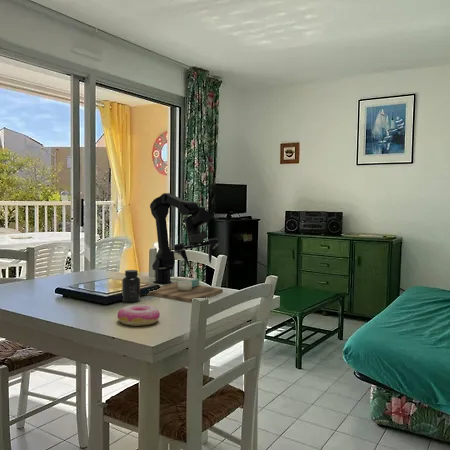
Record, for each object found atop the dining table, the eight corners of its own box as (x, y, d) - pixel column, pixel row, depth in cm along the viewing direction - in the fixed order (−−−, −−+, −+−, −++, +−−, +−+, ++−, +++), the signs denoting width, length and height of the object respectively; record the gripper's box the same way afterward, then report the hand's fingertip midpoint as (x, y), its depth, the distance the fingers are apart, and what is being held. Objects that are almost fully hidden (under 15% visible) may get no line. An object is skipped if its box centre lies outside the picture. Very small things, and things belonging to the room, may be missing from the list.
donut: (167, 323, 150) (168, 308, 150) (135, 331, 141) (135, 315, 140) (142, 314, 159) (142, 300, 159) (110, 321, 149) (110, 306, 149)
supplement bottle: (141, 299, 181) (142, 269, 180) (136, 303, 174) (137, 272, 173) (125, 298, 181) (125, 268, 181) (119, 302, 175) (120, 271, 174)
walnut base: (144, 294, 190) (144, 290, 189) (177, 285, 210) (178, 281, 210) (192, 303, 178) (192, 298, 178) (222, 292, 199) (222, 288, 199)
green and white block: (186, 291, 190) (186, 283, 190) (174, 289, 193) (175, 282, 193) (203, 286, 201) (203, 279, 201) (191, 284, 204) (192, 277, 204)
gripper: (172, 228, 185) (178, 265, 181) (216, 221, 188) (223, 258, 185) (171, 234, 196) (177, 270, 192) (213, 228, 199) (220, 262, 195)
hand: (199, 265), depth 191 cm, fingers open, 9 cm apart
